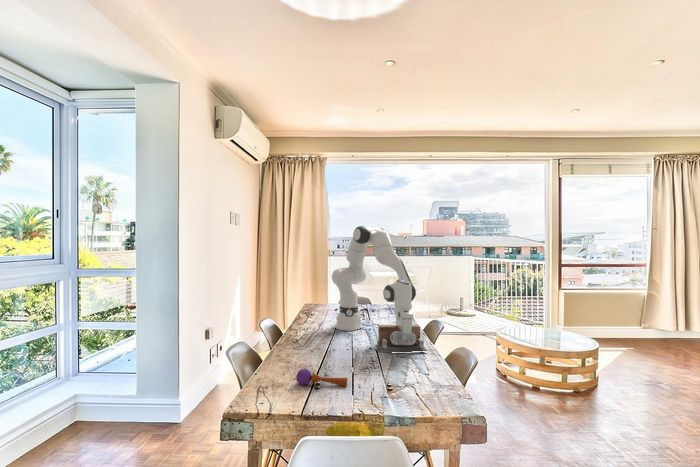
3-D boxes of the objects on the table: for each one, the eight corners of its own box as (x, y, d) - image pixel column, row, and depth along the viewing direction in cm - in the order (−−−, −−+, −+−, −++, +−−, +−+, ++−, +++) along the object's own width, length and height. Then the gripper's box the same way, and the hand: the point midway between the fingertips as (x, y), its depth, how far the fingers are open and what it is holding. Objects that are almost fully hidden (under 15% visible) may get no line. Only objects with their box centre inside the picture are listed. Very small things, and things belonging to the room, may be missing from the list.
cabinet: (377, 344, 190) (377, 324, 190) (418, 343, 191) (418, 324, 191) (382, 353, 174) (382, 332, 174) (427, 353, 175) (427, 332, 175)
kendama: (346, 379, 131) (295, 373, 133) (345, 394, 132) (294, 387, 134) (348, 371, 137) (298, 365, 139) (347, 384, 138) (297, 378, 140)
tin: (417, 345, 180) (417, 328, 181) (418, 346, 177) (418, 329, 178) (388, 344, 180) (388, 328, 181) (388, 346, 177) (388, 329, 178)
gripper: (393, 307, 189) (392, 332, 189) (401, 315, 169) (401, 344, 169) (404, 307, 190) (404, 332, 190) (414, 315, 170) (413, 344, 169)
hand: (402, 338), depth 179 cm, fingers closed on tin, 3 cm apart
